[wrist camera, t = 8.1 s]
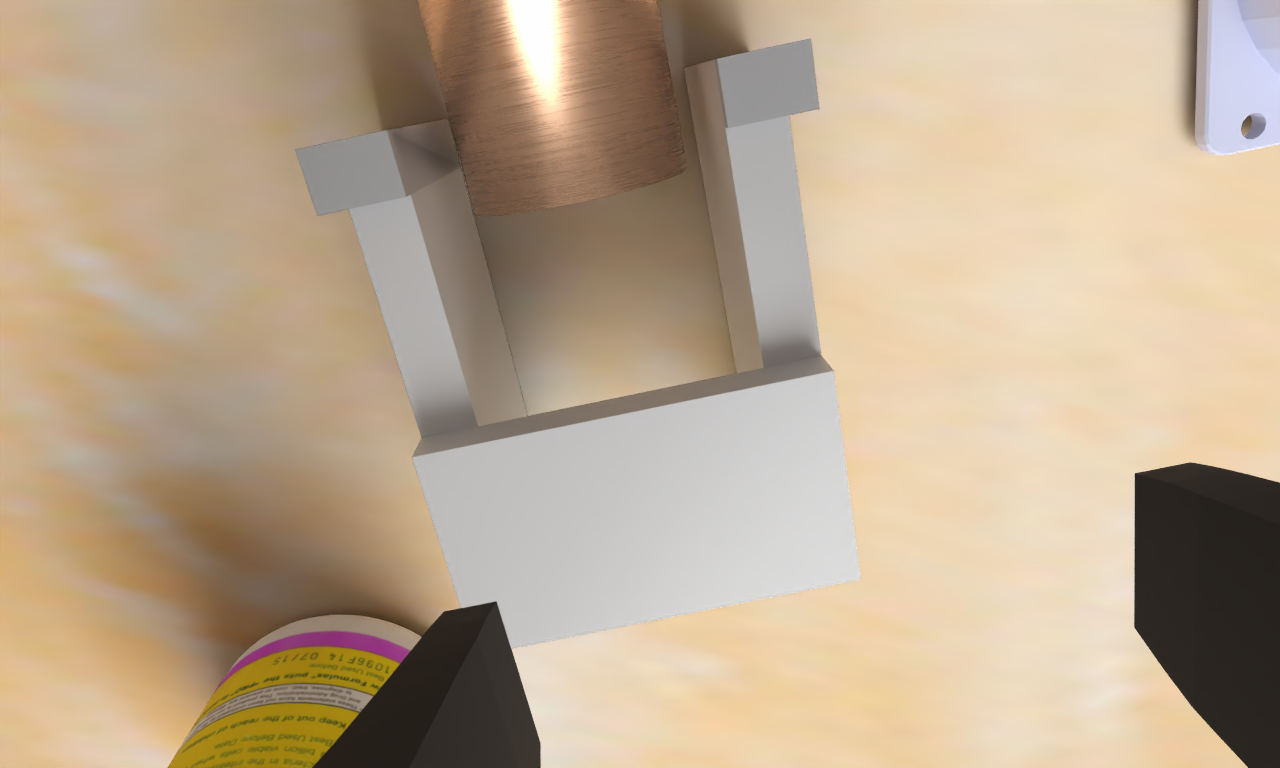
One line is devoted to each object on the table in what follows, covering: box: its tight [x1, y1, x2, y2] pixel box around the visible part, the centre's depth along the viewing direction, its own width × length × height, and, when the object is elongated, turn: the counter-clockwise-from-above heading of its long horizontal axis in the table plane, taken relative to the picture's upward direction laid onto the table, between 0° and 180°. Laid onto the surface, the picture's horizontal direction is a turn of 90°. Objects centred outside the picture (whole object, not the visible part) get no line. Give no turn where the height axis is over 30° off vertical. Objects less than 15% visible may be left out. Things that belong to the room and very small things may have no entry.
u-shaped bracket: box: [296, 39, 861, 649], centre depth 16 cm, size 8×9×6 cm
